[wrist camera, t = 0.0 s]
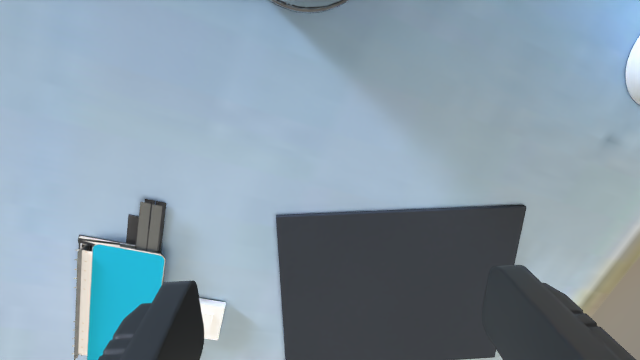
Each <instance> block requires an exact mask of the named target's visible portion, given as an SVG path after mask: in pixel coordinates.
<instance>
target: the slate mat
mask: <svg viewBox="0 0 640 360" xmlns="http://www.w3.org/2000/svg"><path fill="white" fill-rule="evenodd" d="M525 211H526V206H524V205H510V206H486V207H462V208H438V209H414V210H390V211H366V212H342V213H317V214H293V215H277V216H276V222H277V237H278V252H279V267H280V282H281V297H282V311H283V326H284V341H285V356H286V360H459V359H475V358H490V357H495V352H496V348H495V346H494V345H493V343H492V342H491V340H490V339H489V337H488V336H487V334H486V332H485V329H484V326H483V323H482V306H483V301H484V296H485V290H486V285H487V279H488V274H489V271H490V269H491V268H492V267H494V266H512V265H514V263H515V258H516V253H517V249H518V244H519V239H520V235H521V230H522V225H523V220H524V216H525Z"/></svg>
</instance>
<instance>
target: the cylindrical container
mask: <svg viewBox="0 0 640 360" xmlns="http://www.w3.org/2000/svg"><path fill="white" fill-rule="evenodd" d="M625 73H626V85H627V89H628V92H629V94H630V95H631V97H632V99H633V100H634V101H635V102H636V103H638V104H639V105H640V36H639V38H638V39H637V41H636V43H635V44H634V46H633V48H632V50H631V52H630V55H629V58H628V61H627V66H626V72H625Z"/></svg>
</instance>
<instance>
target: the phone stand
mask: <svg viewBox="0 0 640 360" xmlns="http://www.w3.org/2000/svg"><path fill="white" fill-rule="evenodd" d="M154 204H155V201H153V200H148V199H145V202H141V203H140V213H139V216H133V215H129V217H128V229H127V240H126V243H122V242H115V241H110V240H104V239H99V238H93V237H88V236H82V235H79V238H78V243H79V251H78V259H75V260H77V278H74V279H77V287H74V288H77V289H76V318H75V321H74V322H75V345H74V346H75V347H74V353H72V354H74V360H75V359H76V357H78V355H79V354H80V355H87V360H98V359H99V357H100V356H102V355H103V351H104V349H105V348H106V346H107V344H108V343H109V341H110V340H112V339H113V335H114V333H115V332H116V330H117V329H118V327H119V326H120V324H121V322H122V321H123V319H124V318H125V317H126V316H128V315H129V314H130V313H131V312H132V311H133V310H135V309H136V308H137V307H138V306H139V305H140V304H143V303H152V301H153V300H154V298H155V296H156V294H157V293H158V291H159V289H160V287H161V286H162V284H163V280H164V268H165V258H164V256H162V255H161V254H160V252H161V244H162V236H163V228H164V217H165V209H166V203H163V202H158V201H156V205H154ZM92 246H93V248H92ZM74 270H76V269H74ZM199 300H200V306H201V312H202V318H203V324H204V338H206V339H212V340H218V338H219V334H220V329H221V324H222V320H223V315H224V310H225V306H226V302H220V301H214V300H208V299H202V298H199ZM72 339H73V338H72Z"/></svg>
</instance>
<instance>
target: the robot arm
mask: <svg viewBox="0 0 640 360" xmlns="http://www.w3.org/2000/svg"><path fill="white" fill-rule="evenodd" d="M270 1H272V2H273V3H275V4H277V5H279V6H281V7H283V8H286V9H289V10H293V11H297V12H305V13H313V12H322V11H326V10H330V9H333V8H335V7H338V6H340V5H341V4H343V3H345V2H347V1H348V0H270ZM482 323H483V326H484V329H485V332H486V334H487V336H488V337H489V339H490V340H491V342H492V343H493V345H494V346H495V348H496V349H497V351H498V353H499V354H500V356H501V357H502V359H503V360H636V359H635V358H634V357H633V356H631V355H630V354H629V353H628V352H627V351H626V350H625V349H624V348H623V347H622V346H620V345H619V344H618V343H617V342H616V341H615V340H614V339H613V338H612V337H611V336H610V335H609V334H608V333H607V332H605V331H604V330H603V329H602V328H601V327H598V326H597V324H596V322H595V321H594V320H592V319H591V318H590V317H589V316H588V315H587V314H584V313H583V310H582V309H581V308H580V307H578V306H577V305H576V304H575V303H574V302H573V301H572V300H571V299H570V298H569V297H568V296H567V295H565V294H563V293H562V292H560V291H558V290H556V289H555V288H553V287H551V286H550V285H548V284H546V283H541V282H540V281H539V280H538V279H537V278H536V277H535V276H534V275H533V274H532V273H531V272H530V271H529V270H528V269H527V268H526V267H524V266H522V265H512V266H494V267H492V268H491V269H490V271H489V274H488V279H487V285H486V290H485V296H484V301H483V306H482ZM203 344H204V324H203V318H202V312H201V306H200V300H199V294H198V288H197V285H196V282H195V281H179V282H165V283H163V284H162V286H161V287H160V289H159V291H158V293H157V294H156V296H155V298H154V300H153V301H152V303H143V304H140V305H139V306H138V307H137V308H136V309H135V310H133V311H132V312H131V313H130V314H129V315H128V316H126V317H125V318H124V319H123V321H122V322H121V324H120V326H119V327H118V329H117V330H116V332H115V333H114V335H113V339H112V340H110V341H109V343H108V344H107V346H106V348H105V349H104V351H103V355H102V356H100V357H99V359H98V360H200V356H201V353H202V349H203Z"/></svg>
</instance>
